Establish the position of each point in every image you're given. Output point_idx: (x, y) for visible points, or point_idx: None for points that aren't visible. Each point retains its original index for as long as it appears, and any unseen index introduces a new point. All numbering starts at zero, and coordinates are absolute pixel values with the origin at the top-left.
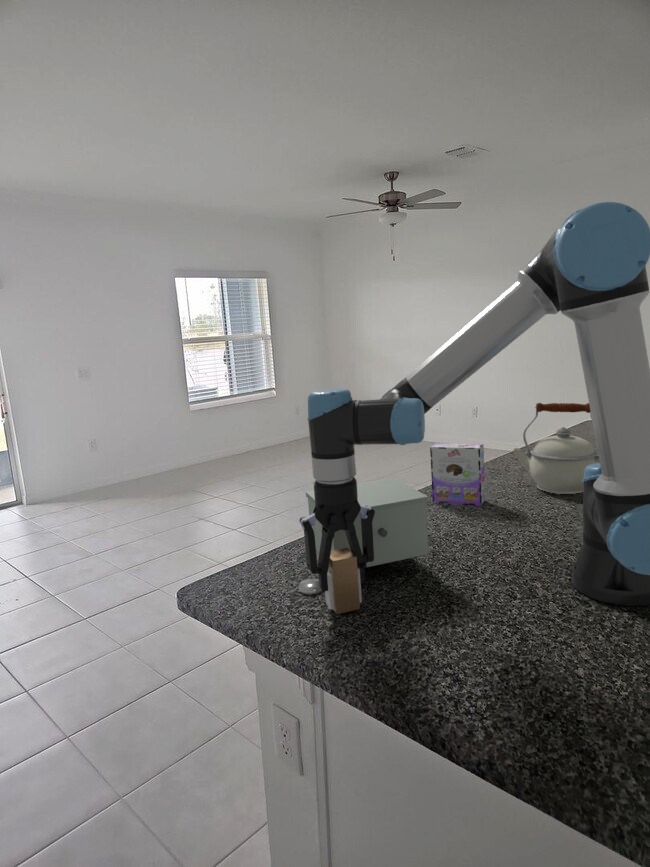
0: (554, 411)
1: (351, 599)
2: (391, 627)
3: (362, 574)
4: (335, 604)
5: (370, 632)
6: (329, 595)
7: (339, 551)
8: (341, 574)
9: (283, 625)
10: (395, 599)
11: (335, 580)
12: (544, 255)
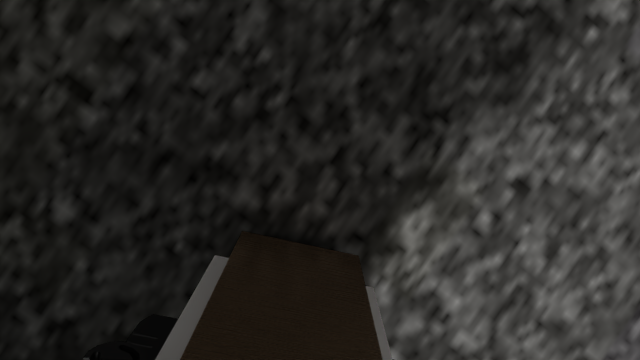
0: None
1: (276, 261)
2: (204, 15)
3: (141, 347)
4: (362, 278)
5: (311, 42)
6: (383, 328)
7: None
8: None
9: (572, 326)
10: (45, 216)
11: (369, 355)
12: None
